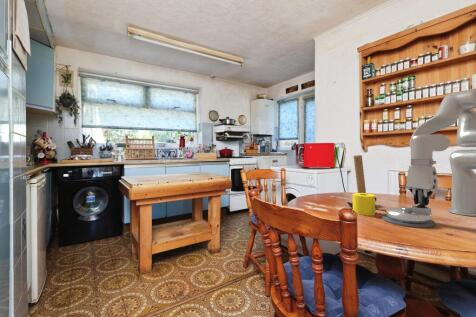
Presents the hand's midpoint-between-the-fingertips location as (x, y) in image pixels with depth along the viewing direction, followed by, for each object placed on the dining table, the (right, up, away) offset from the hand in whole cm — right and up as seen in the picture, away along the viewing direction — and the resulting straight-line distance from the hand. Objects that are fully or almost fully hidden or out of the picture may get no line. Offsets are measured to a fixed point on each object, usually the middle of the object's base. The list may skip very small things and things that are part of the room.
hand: (421, 204), depth 102 cm
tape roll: (-17, -8, +16) cm, 25 cm away
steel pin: (0, -3, 0) cm, 3 cm away
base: (-5, -8, +2) cm, 9 cm away
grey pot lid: (-5, -7, +2) cm, 8 cm away
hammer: (-10, -7, +29) cm, 32 cm away
